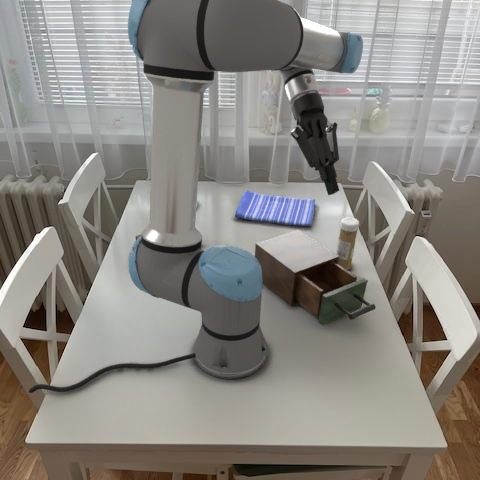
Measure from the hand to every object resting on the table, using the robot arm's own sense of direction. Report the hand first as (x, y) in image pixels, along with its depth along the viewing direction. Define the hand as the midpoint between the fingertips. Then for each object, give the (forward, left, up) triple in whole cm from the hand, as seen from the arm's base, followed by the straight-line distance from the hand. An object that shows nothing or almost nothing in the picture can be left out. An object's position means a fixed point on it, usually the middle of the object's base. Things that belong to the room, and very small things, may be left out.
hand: (333, 192), depth 118 cm
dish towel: (+8, +32, -21) cm, 39 cm away
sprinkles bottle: (+4, -3, -21) cm, 22 cm away
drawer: (-12, -16, -20) cm, 28 cm away
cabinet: (-12, -2, -21) cm, 24 cm away
